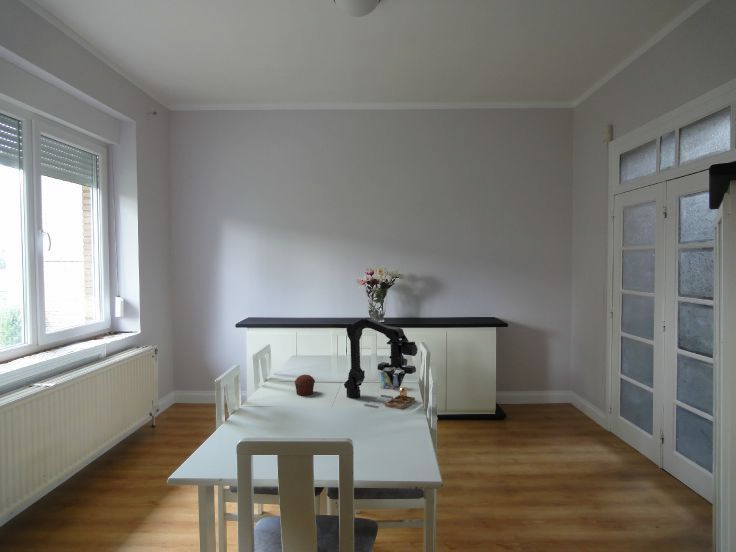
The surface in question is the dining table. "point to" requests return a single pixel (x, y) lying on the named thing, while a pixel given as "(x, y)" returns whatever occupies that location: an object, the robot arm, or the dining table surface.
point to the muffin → (304, 385)
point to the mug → (385, 380)
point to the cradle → (379, 401)
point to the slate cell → (396, 380)
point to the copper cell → (403, 393)
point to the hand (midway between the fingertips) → (396, 385)
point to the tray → (399, 402)
